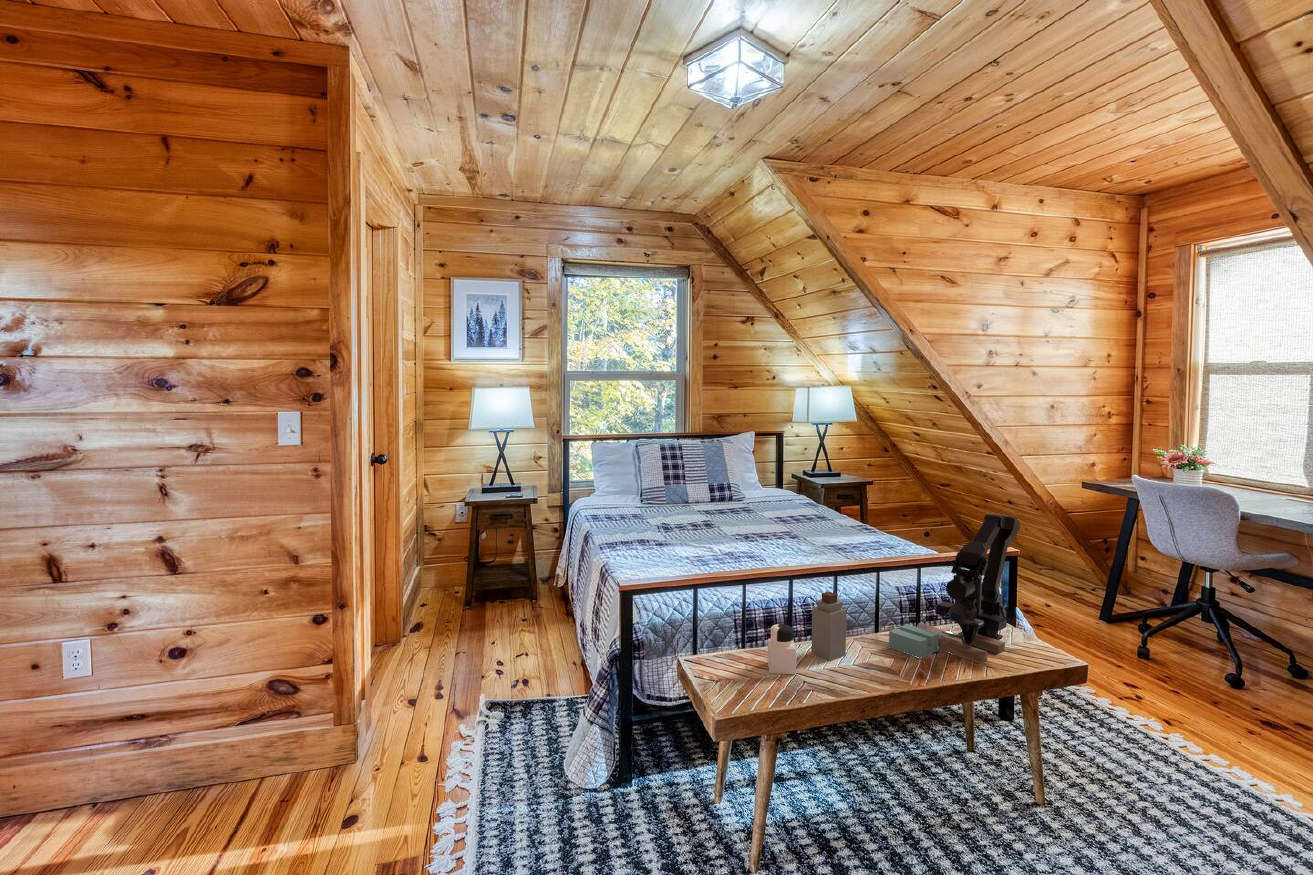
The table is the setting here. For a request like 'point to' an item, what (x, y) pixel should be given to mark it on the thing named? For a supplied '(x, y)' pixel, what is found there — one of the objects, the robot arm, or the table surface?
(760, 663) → the table surface
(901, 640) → the v-block
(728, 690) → the table surface
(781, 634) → the medicine bottle
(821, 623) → the perfume bottle
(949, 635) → the steel shaft
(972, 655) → the walnut beams
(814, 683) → the table surface
